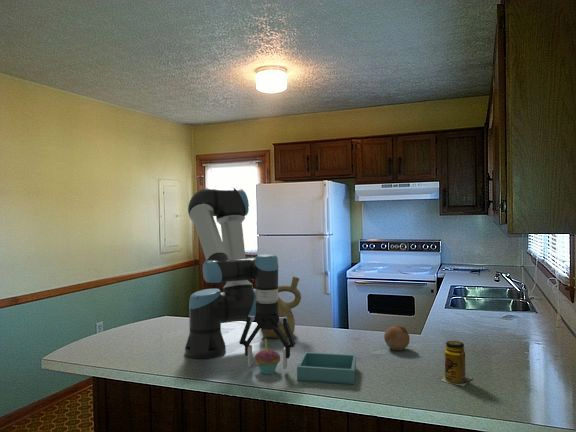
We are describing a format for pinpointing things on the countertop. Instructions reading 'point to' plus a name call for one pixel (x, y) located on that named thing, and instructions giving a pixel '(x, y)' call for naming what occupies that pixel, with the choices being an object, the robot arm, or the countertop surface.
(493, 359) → the countertop surface
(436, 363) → the countertop surface
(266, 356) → the cupcake
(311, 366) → the tub
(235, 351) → the countertop surface
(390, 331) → the onion
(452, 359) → the condiment
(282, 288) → the ceramic vessel
